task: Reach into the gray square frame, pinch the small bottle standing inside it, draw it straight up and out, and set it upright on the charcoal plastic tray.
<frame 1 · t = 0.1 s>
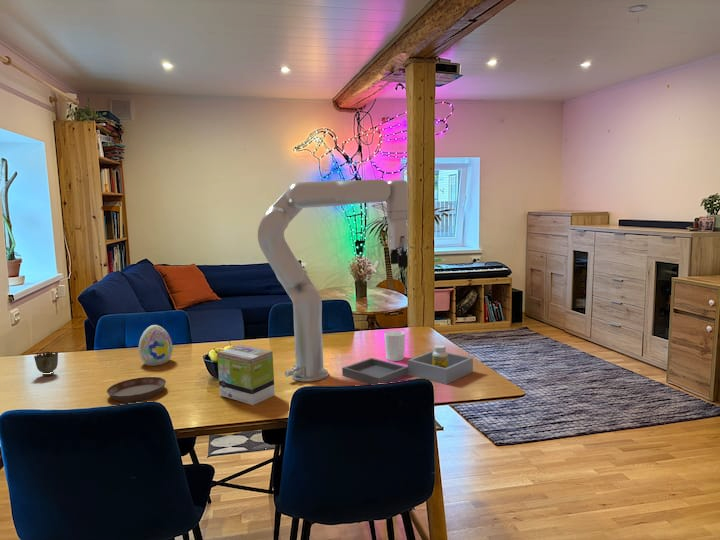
hand: (398, 265, 178), 37 cm above the table, tool pointing down, fingers open, 9 cm apart
cup: (48, 375, 186), on the table
plant saucer: (137, 394, 165), on the table
white cup: (395, 359, 194), on the table
tea box: (247, 396, 160), on the table
tray: (375, 375, 176), on the table
decorative egg: (156, 363, 198), on the table
supplement bottle: (440, 373, 176), on the table
gray square frame: (440, 373, 176), on the table
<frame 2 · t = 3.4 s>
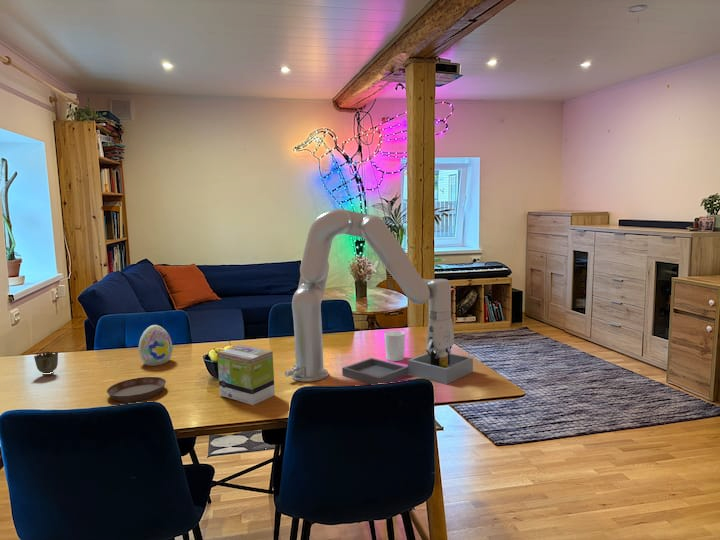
hand: (440, 366, 176), 3 cm above the table, tool pointing down, fingers closed on supplement bottle, 5 cm apart
supplement bottle: (440, 373, 176), on the table, touching gripper
everything else where it was.
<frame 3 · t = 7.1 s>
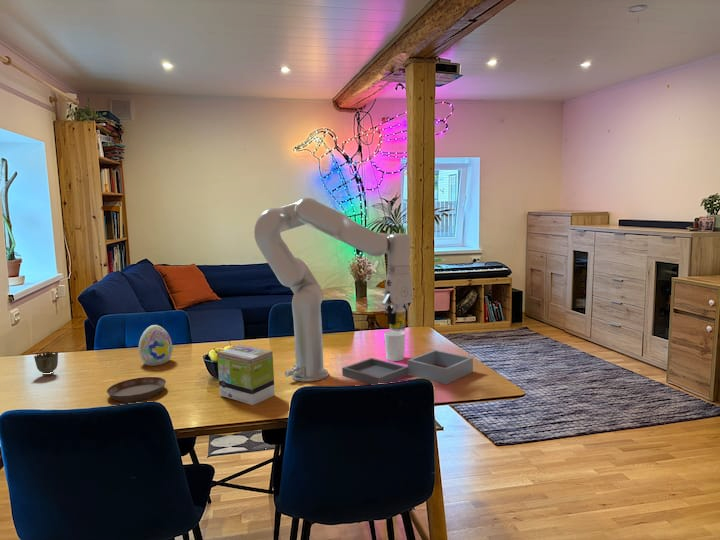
hand: (397, 322, 173), 18 cm above the table, tool pointing down, fingers closed on supplement bottle, 5 cm apart
supplement bottle: (397, 329, 174), point 16 cm above the table, touching gripper
everything else where it was.
when the fingers open (5 cm above the table, at t = 10.7 s): supplement bottle drops 2 cm, resting on tray.
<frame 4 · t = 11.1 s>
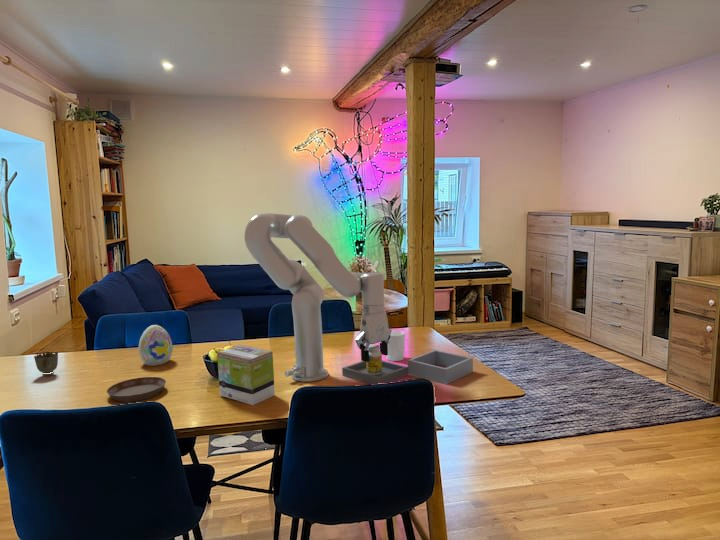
hand: (374, 357, 175), 6 cm above the table, tool pointing down, fingers open, 9 cm apart
supplement bottle: (374, 373, 176), point 1 cm above the table, touching tray
everything else where it was.
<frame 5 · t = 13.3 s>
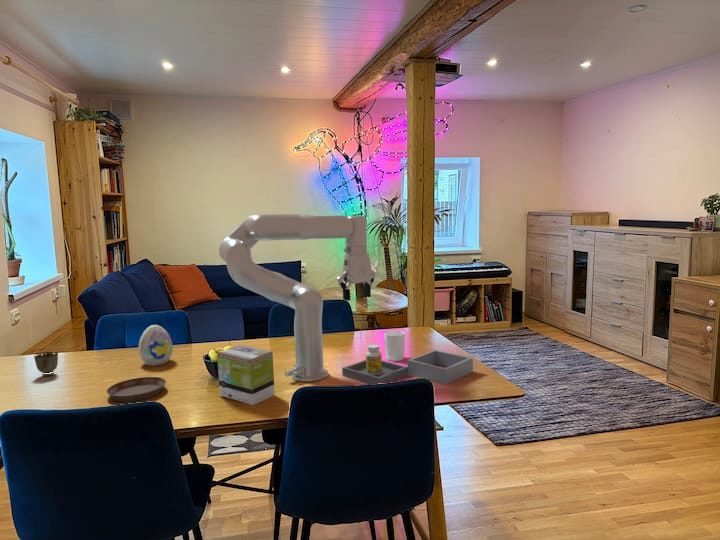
hand: (357, 298, 181), 26 cm above the table, tool pointing down, fingers open, 9 cm apart
nothing on the table moved.
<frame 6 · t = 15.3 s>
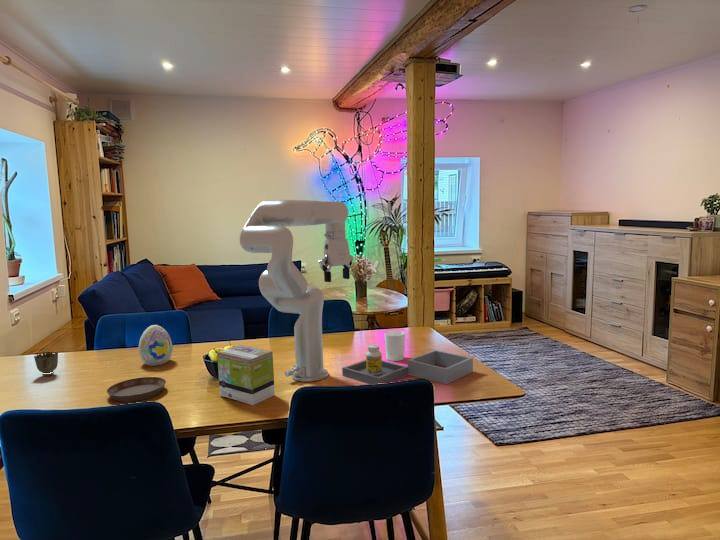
hand: (337, 280, 194), 30 cm above the table, tool pointing down, fingers open, 9 cm apart
nothing on the table moved.
at the end: supplement bottle inside the target area on the tray (0.3 cm from its centre), point 0.6 cm above the tray's base; supplement bottle tilted 0°; the gripper is holding nothing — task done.
